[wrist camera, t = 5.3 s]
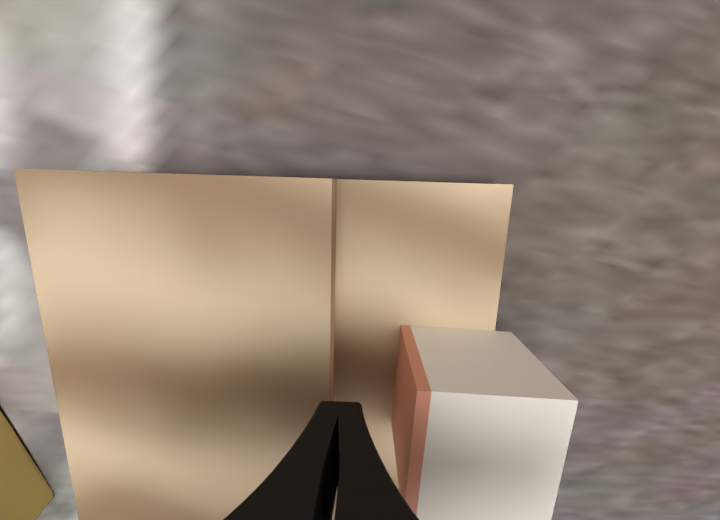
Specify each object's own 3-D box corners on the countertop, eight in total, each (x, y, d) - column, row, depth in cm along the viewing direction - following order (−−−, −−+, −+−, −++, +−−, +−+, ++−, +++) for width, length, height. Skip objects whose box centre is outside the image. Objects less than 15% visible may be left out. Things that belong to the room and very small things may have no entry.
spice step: (458, 494, 18) (484, 580, 14) (146, 483, 18) (87, 565, 14) (493, 184, 15) (540, 185, 11) (106, 172, 15) (13, 168, 11)
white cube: (391, 421, 15) (494, 428, 15) (402, 521, 11) (548, 529, 11) (400, 324, 14) (511, 331, 14) (417, 390, 10) (578, 400, 10)
